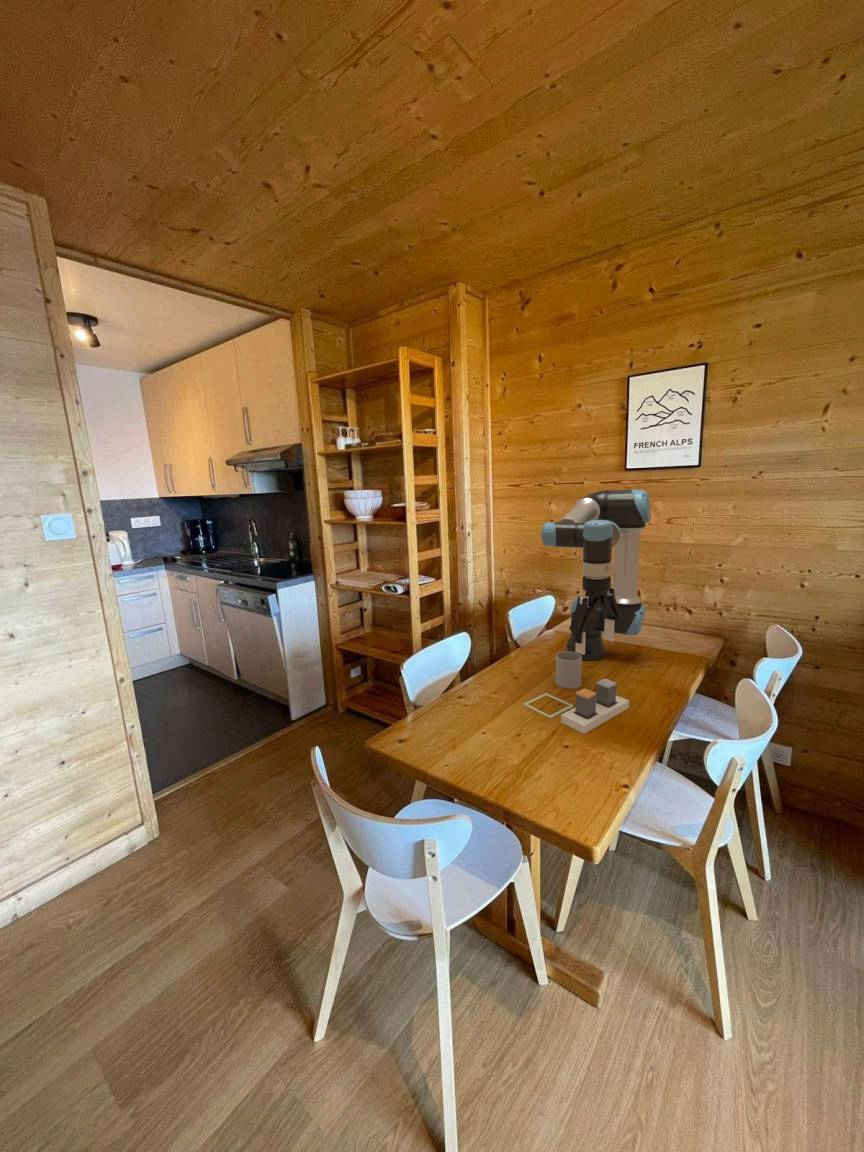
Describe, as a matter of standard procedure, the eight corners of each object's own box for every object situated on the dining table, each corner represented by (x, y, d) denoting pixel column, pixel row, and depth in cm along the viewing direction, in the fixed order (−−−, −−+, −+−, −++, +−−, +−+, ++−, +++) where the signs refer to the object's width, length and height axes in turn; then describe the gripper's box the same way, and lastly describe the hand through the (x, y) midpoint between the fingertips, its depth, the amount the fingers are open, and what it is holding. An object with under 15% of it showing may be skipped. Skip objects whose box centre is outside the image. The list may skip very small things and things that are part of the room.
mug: (572, 693, 153) (573, 663, 151) (550, 685, 159) (550, 656, 157) (591, 681, 161) (591, 652, 159) (569, 674, 167) (569, 646, 165)
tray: (523, 707, 146) (523, 703, 146) (546, 696, 152) (546, 693, 152) (550, 721, 137) (550, 717, 137) (573, 709, 143) (573, 705, 143)
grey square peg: (595, 709, 141) (596, 682, 139) (603, 704, 143) (604, 678, 141) (607, 714, 138) (608, 686, 136) (615, 709, 140) (616, 682, 138)
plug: (575, 720, 135) (575, 692, 133) (583, 715, 137) (584, 688, 135) (586, 726, 132) (587, 697, 130) (595, 721, 134) (596, 693, 132)
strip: (560, 725, 135) (561, 714, 134) (605, 701, 147) (605, 691, 146) (583, 737, 128) (584, 726, 128) (628, 710, 141) (629, 700, 140)
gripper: (579, 587, 119) (578, 662, 124) (634, 569, 133) (631, 638, 138) (556, 582, 125) (556, 654, 130) (611, 566, 139) (609, 631, 144)
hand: (594, 646), depth 134 cm, fingers open, 13 cm apart
